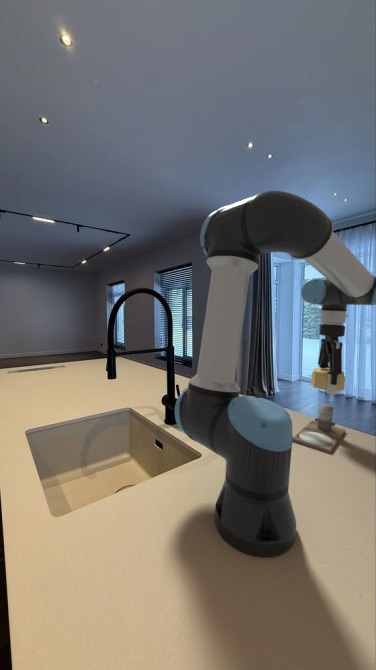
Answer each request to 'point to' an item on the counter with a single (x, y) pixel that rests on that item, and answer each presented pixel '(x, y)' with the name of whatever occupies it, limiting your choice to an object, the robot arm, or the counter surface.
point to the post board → (321, 431)
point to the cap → (325, 379)
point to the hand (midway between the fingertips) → (326, 389)
